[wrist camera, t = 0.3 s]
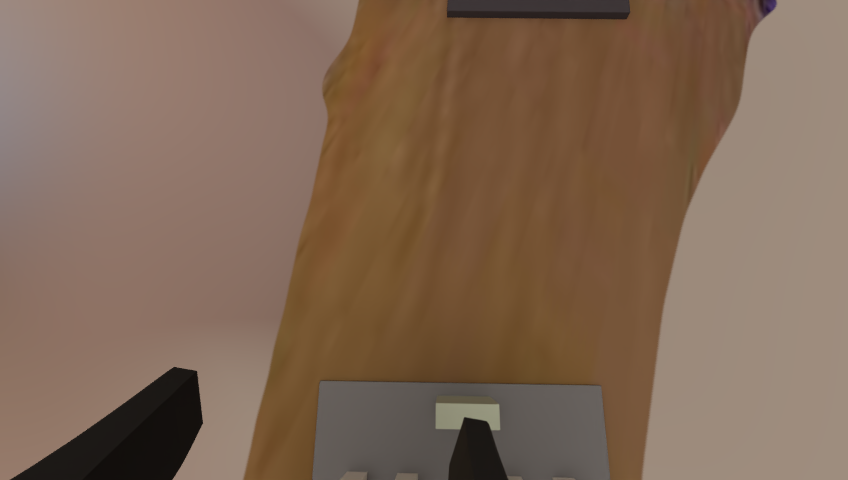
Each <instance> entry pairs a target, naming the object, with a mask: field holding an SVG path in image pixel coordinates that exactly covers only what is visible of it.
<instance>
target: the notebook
mask: <svg viewBox="0 0 848 480" xmlns="http://www.w3.org/2000/svg"><path fill="white" fill-rule="evenodd" d="M629 13H630V6H629V0H448V7H447V17H463V18H558V19H627V17H628V15H629Z"/></svg>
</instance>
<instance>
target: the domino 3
mask: <svg viewBox="0 0 848 480" xmlns="http://www.w3.org/2000/svg"><path fill="white" fill-rule="evenodd" d="M507 478H508V480H523V479H522V477H521V476H507Z"/></svg>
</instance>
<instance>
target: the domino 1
mask: <svg viewBox="0 0 848 480" xmlns="http://www.w3.org/2000/svg"><path fill="white" fill-rule="evenodd" d="M340 480H367V472H346V474H345V475H344V476H343V477H342V478H341V479H340Z"/></svg>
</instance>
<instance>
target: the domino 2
mask: <svg viewBox="0 0 848 480" xmlns="http://www.w3.org/2000/svg"><path fill="white" fill-rule="evenodd" d="M395 480H418V474H417V473H397V476H396V478H395Z"/></svg>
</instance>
